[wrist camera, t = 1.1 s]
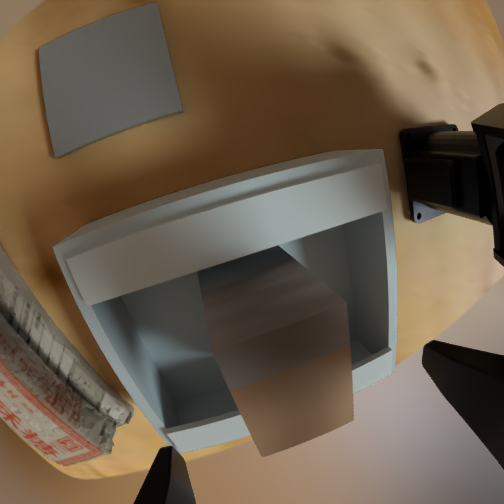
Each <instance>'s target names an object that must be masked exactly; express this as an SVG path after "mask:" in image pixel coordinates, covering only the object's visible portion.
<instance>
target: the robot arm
mask: <svg viewBox="0 0 504 504" xmlns="http://www.w3.org/2000/svg"><path fill="white" fill-rule="evenodd" d="M471 125H472V128H473V131H458V128H457V126H456V125H454V124H451V125H438V126H426V127H416V128H407V129H402V130H401V131H400V134H399V135H400V142H401V147H402V153H403V159H404V166H405V172H406V180H407V187H408V196H409V206H410V217H411V220H412V221H413V222H415V223H421V222H424V221H426V220H429V219H432V218H434V217H437V216H439V215H442V214H444V213H450V214H454V215H458V216H461V217H465V218H468V219H472V220H475V221H479V222H482V223H485V224H489V225H492V226H493V234H494V249H493V252H494V258H495V259H496V260H497V261H498V262H499V263H500V264H501V265H502V266H504V103H502V104H499V105H497V106H495V107H494V108H492V109H491V110H489V111H488V112H486V113H484V114H483V115H481V116H480V117H478V118H477V119H475V120H473V121H472V122H471ZM406 134H407V138H406ZM417 214H418V216H417ZM422 365H423V367H424V369H425V370H426V371H427V373H428V374H429V375H430V377H431V379H432V380H433V381H434V383H435V384H436V386H437V387H438V389H439V390H440V392H441V393H442V394H443V396H444V397H445V398H446V399H447V401H448V402H449V403H450V404H451V405H452V406H453V407H454V409H455V410H456V411H457V412H458V413H459V415H460V416H461V417H462V418H463V419H464V420H465V422H466V423H467V424H468V425H469V427H470V428H471V429H472V430H473V431H474V433H475V434H476V435H477V436H478V437H479V439H480V440H481V441H482V442H483V443H484V445H485V446H486V447H487V449H488V450H489V451H490V452H491V454H492V455H493V456H494V457H495V459H496V460H497V461H498V463H499V464H500V465H501V467H502V468H503V469H504V355H499V354H494V353H489V352H485V351H480V350H476V349H471V348H467V347H462V346H457V345H453V344H449V343H445V342H441V341H436V340H432V341H430V342H429V343H427V344H426V345H425V346H424V348H423V356H422ZM134 504H196V502H195V497H194V493H193V490H192V486H191V483H190V479H189V475H188V471H187V467H186V463H185V461H184V459H183V457H182V456H181V455H180V454H179V452H178V451H177V450H176V449H175V448H174V447H173V446H166V447H162V448H160V449H159V451H158V453H157V456H156V458H155V460H154V462H153V464H152V466H151V468H150V470H149V473H148V474H147V477H146V479H145V481H144V483H143V485H142V487H141V489H140V491H139V493H138V495H137V497H136V500H135V502H134Z"/></svg>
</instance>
